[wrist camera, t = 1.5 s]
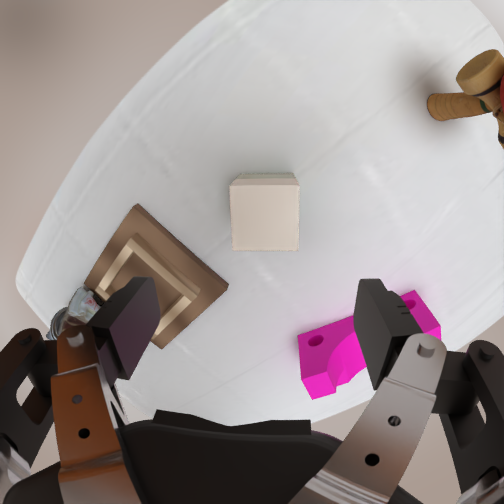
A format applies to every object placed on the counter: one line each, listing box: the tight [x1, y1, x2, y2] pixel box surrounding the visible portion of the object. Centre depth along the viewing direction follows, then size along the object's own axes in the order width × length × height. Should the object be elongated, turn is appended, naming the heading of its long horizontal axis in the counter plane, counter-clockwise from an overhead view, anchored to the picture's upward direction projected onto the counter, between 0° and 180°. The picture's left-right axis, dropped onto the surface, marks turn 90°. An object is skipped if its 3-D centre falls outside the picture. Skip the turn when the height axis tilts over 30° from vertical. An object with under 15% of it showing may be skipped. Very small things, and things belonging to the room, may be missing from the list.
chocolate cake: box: [46, 287, 101, 340], centre depth 32 cm, size 10×7×12 cm
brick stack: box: [229, 173, 299, 251], centre depth 25 cm, size 5×5×7 cm
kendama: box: [427, 49, 504, 149], centre depth 14 cm, size 8×6×18 cm
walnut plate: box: [84, 204, 229, 349], centre depth 31 cm, size 13×13×3 cm
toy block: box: [298, 290, 441, 400], centre depth 30 cm, size 15×6×8 cm, turn 115°
